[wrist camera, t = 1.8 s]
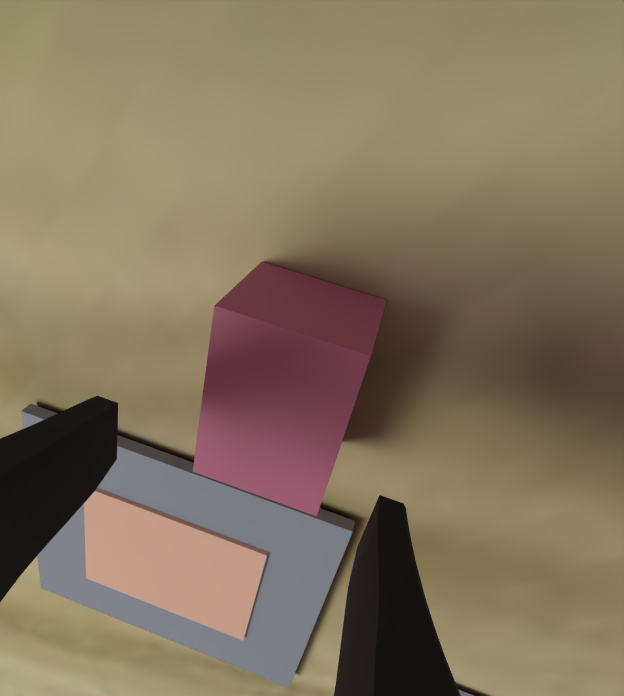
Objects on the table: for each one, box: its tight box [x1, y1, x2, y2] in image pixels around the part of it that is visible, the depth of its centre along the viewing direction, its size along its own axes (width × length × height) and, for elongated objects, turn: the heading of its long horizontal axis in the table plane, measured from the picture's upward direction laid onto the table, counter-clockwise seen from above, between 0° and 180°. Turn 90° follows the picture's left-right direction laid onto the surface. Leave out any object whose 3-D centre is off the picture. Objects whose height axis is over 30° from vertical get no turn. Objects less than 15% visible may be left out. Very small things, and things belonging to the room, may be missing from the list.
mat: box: [21, 404, 355, 688], centre depth 25 cm, size 16×14×1 cm
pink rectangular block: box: [193, 262, 387, 516], centre depth 16 cm, size 4×6×4 cm
